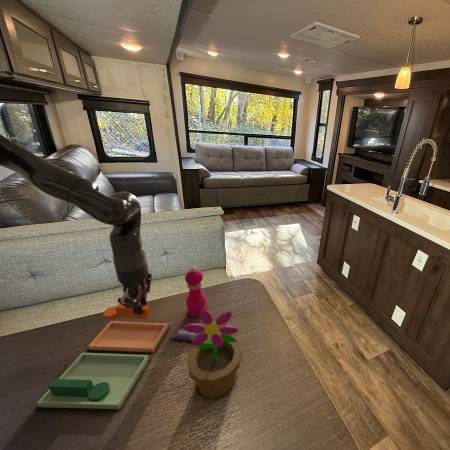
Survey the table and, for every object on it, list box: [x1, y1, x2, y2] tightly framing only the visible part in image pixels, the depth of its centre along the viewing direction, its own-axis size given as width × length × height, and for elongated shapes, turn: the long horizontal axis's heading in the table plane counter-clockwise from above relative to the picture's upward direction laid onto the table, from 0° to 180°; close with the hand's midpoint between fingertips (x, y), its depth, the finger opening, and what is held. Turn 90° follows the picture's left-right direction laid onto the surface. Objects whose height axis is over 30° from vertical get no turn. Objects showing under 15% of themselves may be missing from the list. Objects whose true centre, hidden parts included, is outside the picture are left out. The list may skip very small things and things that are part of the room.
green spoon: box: [48, 378, 110, 402], centre depth 64 cm, size 13×4×4 cm, turn 92°
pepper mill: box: [184, 266, 207, 318], centre depth 92 cm, size 7×7×20 cm
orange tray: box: [87, 320, 169, 353], centre depth 81 cm, size 19×10×2 cm, turn 92°
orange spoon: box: [102, 302, 152, 321], centre depth 76 cm, size 13×4×4 cm, turn 91°
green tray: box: [36, 352, 150, 410], centre depth 68 cm, size 19×14×2 cm
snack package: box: [170, 326, 205, 342], centre depth 84 cm, size 12×2×5 cm
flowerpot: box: [183, 308, 243, 399], centre depth 66 cm, size 14×14×30 cm
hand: (141, 310), depth 76 cm, fingers closed on orange spoon, 2 cm apart
